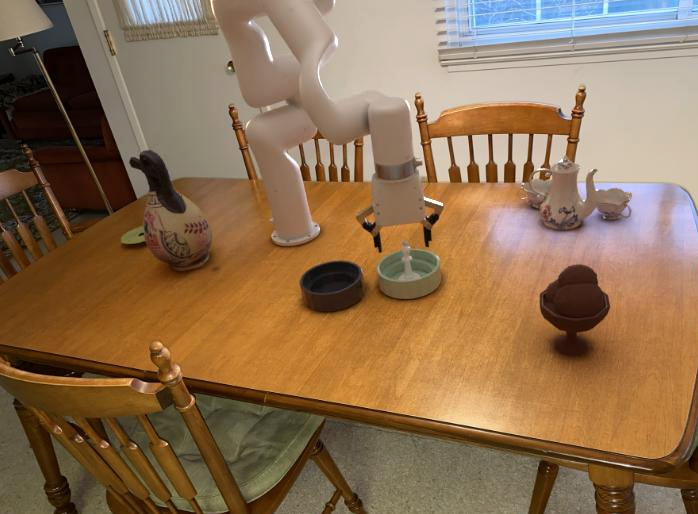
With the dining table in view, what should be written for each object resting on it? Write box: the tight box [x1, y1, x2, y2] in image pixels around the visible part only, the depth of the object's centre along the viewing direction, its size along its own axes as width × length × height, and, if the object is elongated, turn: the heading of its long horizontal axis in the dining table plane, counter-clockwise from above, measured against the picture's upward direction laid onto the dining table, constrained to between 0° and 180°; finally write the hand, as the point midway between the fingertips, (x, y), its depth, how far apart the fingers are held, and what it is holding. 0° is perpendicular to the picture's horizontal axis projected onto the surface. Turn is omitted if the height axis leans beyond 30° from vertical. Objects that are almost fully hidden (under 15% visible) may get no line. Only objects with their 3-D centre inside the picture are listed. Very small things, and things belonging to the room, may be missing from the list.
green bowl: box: [375, 248, 442, 300], centre depth 116 cm, size 13×13×4 cm
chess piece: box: [398, 238, 420, 280], centre depth 114 cm, size 5×5×10 cm
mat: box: [120, 225, 146, 245], centre depth 154 cm, size 11×11×2 cm
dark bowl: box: [299, 260, 366, 312], centre depth 116 cm, size 13×13×4 cm
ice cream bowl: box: [539, 263, 611, 357], centre depth 90 cm, size 11×11×15 cm
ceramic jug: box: [128, 149, 213, 272], centre depth 130 cm, size 17×15×30 cm
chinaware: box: [516, 155, 633, 231], centre depth 128 cm, size 28×17×17 cm, turn 58°
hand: (403, 246), depth 113 cm, fingers open, 9 cm apart
